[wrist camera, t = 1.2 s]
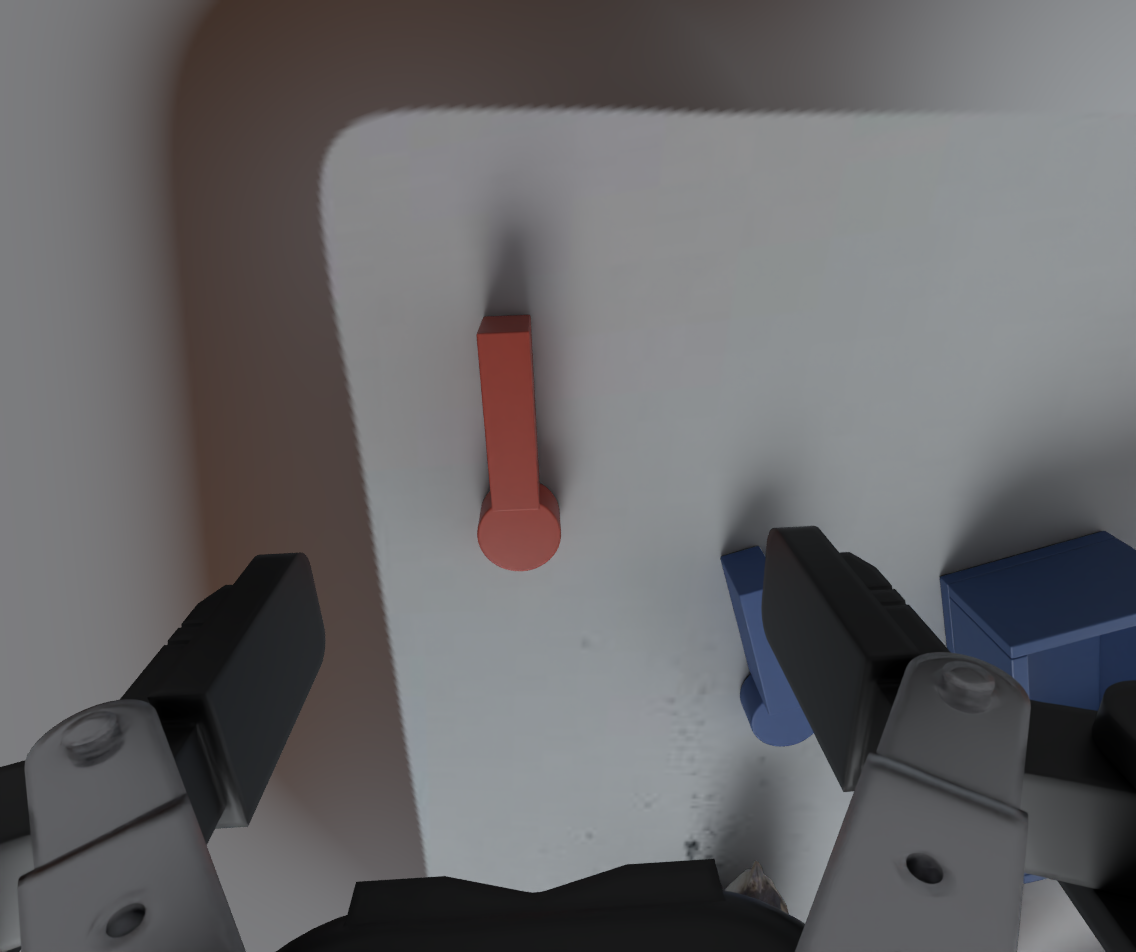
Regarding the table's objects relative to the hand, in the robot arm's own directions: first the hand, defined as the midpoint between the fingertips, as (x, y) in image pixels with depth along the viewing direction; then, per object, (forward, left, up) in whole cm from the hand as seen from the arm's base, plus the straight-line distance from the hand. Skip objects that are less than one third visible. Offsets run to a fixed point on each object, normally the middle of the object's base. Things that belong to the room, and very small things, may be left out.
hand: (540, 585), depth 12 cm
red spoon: (+2, -2, -13) cm, 13 cm away
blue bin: (+19, +16, -13) cm, 29 cm away
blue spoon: (+13, +5, -13) cm, 20 cm away
